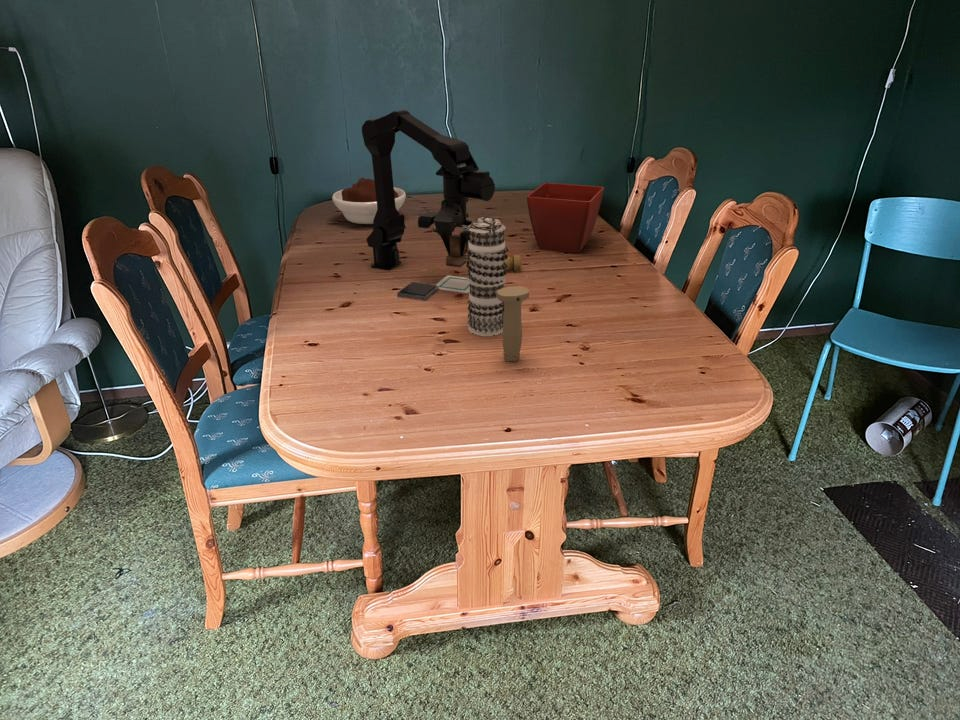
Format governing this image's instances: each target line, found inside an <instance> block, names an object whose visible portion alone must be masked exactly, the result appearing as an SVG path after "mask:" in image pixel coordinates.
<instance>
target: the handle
mask: <svg viewBox="0 0 960 720" xmlns="http://www.w3.org/2000/svg"><path fill="white" fill-rule="evenodd" d="M529 297H530V290H529V288H527V287H525V286H522V285H521V286H520V285H519V286H507V287H504V288H502V289H499V290H497V298H498V299H499V300H500V301H501V302H504V320H503V332H502V333H501V335H502V350H503V353H502V354H503V358H504V359H505V360H506V362H513V363H514V361H515V362H516V361H517V360H519V359H520V357H521V349H522V342H523V327H522V323H523V322H522V303H523V302H524V301H525V300H528V299H529Z"/></svg>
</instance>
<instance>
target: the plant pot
mask: <svg viewBox="0 0 960 720" xmlns="http://www.w3.org/2000/svg"><path fill="white" fill-rule="evenodd" d="M604 191H605V188H604V186H597V185H581V184H569V183H556V182H543V183H542V184H541V185H539V186H538V187H537V188H535V189H534V190H532V191H531V192H530V193H529V194H527V195H526V201H527V208H528V215H529V219H530V224H531V227H532V231H533V234H534V238H535V241H536V242H535V243H536V244H537V247H538V249H540V250H545V251H546V250H547V251H554V252H564V253H565V252H566V253H572V254H573V253H575V254H578V253H580V252H581V251H582V250H583V248H584V247H585V246H586V245H587V244H588V242H589V241H590V238H591V236H592V233H593V231H594V227H595V224H596V222H597V219H598V216H599V211H600V208H601V205H602V204H601V202H602V198H603V195H604Z"/></svg>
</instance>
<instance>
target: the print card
mask: <svg viewBox="0 0 960 720" xmlns="http://www.w3.org/2000/svg"><path fill="white" fill-rule="evenodd" d="M435 285H436V286H439V290H441V291H446V292H454V293H460V294H468V295H469V291H470V283H469V282H468V277H462V276H455V275H447V274H446V276H445V277H443V278H442V279H441V280H440V281H439V282H437V283H436V284H435ZM439 290H438V291H439Z"/></svg>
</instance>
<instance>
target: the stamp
mask: <svg viewBox="0 0 960 720" xmlns="http://www.w3.org/2000/svg"><path fill="white" fill-rule="evenodd" d="M466 255H467V253H465V254H464V256H463V257H462V256H461V236H460V234H452V235H451V236H450V255H446V257H445V265H446V267H453V268H454V267H455V268H462V267H463V266H464V265H465V264H467V263H466V262H467V261H466Z"/></svg>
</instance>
